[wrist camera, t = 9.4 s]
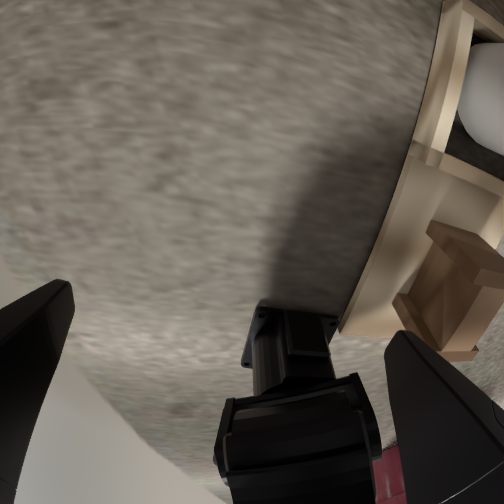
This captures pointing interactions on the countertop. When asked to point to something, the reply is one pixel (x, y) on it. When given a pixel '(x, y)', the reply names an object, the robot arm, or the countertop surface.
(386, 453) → the plant pot
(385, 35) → the countertop surface
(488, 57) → the can
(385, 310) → the wooden divided tray
